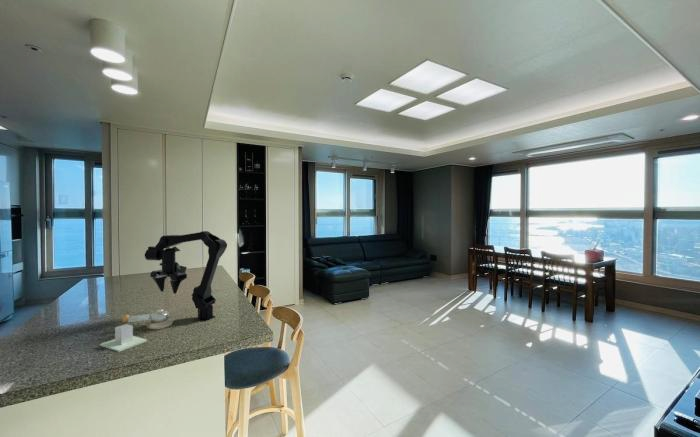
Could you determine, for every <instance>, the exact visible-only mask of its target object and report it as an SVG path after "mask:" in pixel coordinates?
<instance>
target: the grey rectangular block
mask: <svg viewBox="0 0 700 437" xmlns="http://www.w3.org/2000/svg"><path fill="white" fill-rule="evenodd" d="M114 331H115V332H114V339H115V343H117V344H120V345H123V344H125V343H128V342H131V341H133V336H134V333H133V332H134V327H133V325H132V324H129V323H124V324H121V325H119V326H115V328H114Z"/></svg>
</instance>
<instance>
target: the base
mask: <svg viewBox="0 0 700 437" xmlns="http://www.w3.org/2000/svg"><path fill="white" fill-rule="evenodd" d="M173 322H174V318H173V317H171V316H169V319H168V320H166V321H164V322H158V323H153V322H151V319H149V320H147V321H146V329H148V330H161V329H164V328H168V327H170V326H172V325H174V324H173Z"/></svg>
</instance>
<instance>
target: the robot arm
mask: <svg viewBox="0 0 700 437" xmlns="http://www.w3.org/2000/svg"><path fill="white" fill-rule="evenodd" d="M194 241H202V242H203V244H204V245H205V246H206V247H207V248H208V249H207V252H208V258H207V263H206V266H205V267H204V268H205V269H204V271H203V274H202V278H201V280H200V284H199V285H198V286H197V285H196V286H195V287H194V288H193V290H192V294H191V297H192V298H191V300H192V302H193V303H194V307H195V309H197V317H196V318H195V320H196V321H201V322H207V321H208V320H213V319H214V318H216V315H214V304H215V303H216V301H217V299H216V298H215V297H214V296H213V295H212V291H213V290H212V283H213V280H214V276H215V274H216V271H217V267H218V263H219V261H220V259H221V257H222V256H223V255H224V253H225V252H226V249H227V247H228V243H227V242H226V240H224V239H221V238H220V237H218V236H217V235H215V234H213V233H211V232H210V231H207V230H204V231H200V232H194V233H187V234H181V235H180V234H168V235H161V236H160V238H159V241H158V242H157V244H156V245H155V246H154V245H153V246H148V247H147V249H146V251H145V252H144V259H145V260H146V261H161V262H160V263H159V266H161V269H157V270H152V271H151V272H150V274H149V275H150V276H149V277H150V278H151V279H152V280H153V281H154V282H155V284H156V285H157V287H158V289H159V290H160V292H164V290H165V281H166V279H167V278H170V280H169V282H170V286H171V290H172V293H173V294H177V292H178V290H179V287H180V284H181V283H182V281H184V280H185V279H187V278H188V274H187V272H186V271H187V269H188V268H187V266H184V265H180V263H179V262H177V261H176V252H180V251H181V250H180V249H179V247H177V246H178V245H181V244H183V243H187V242H194Z"/></svg>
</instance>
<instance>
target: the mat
mask: <svg viewBox="0 0 700 437" xmlns="http://www.w3.org/2000/svg"><path fill="white" fill-rule="evenodd" d="M146 342H148V339H146V338H143V337H139V336H135V335H133V341H131V342H128V343H125V344H123V345H120V344H117V343H115V338H114V339H110V340H108V341H105V342H102V343H100V344H99V346H100V347H103V348H105V349H109V350H111V351H114V352H117V353H118V352H120V353H121V352H122V351H125V350H128V349H131V348H132V347H136V346H139V345H141V344H142V343H146Z"/></svg>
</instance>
